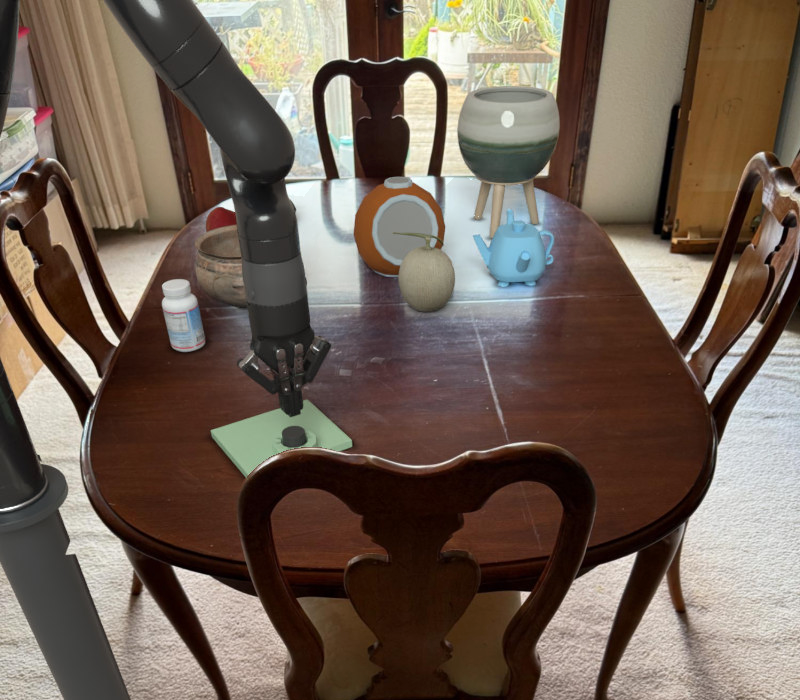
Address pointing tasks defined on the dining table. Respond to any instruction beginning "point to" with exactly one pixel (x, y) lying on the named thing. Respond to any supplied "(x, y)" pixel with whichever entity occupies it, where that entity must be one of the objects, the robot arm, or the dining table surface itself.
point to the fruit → (426, 276)
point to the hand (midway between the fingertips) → (292, 413)
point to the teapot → (516, 252)
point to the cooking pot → (221, 265)
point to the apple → (220, 218)
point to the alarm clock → (396, 224)
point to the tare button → (293, 436)
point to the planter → (507, 142)
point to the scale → (276, 436)
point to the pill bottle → (182, 316)
